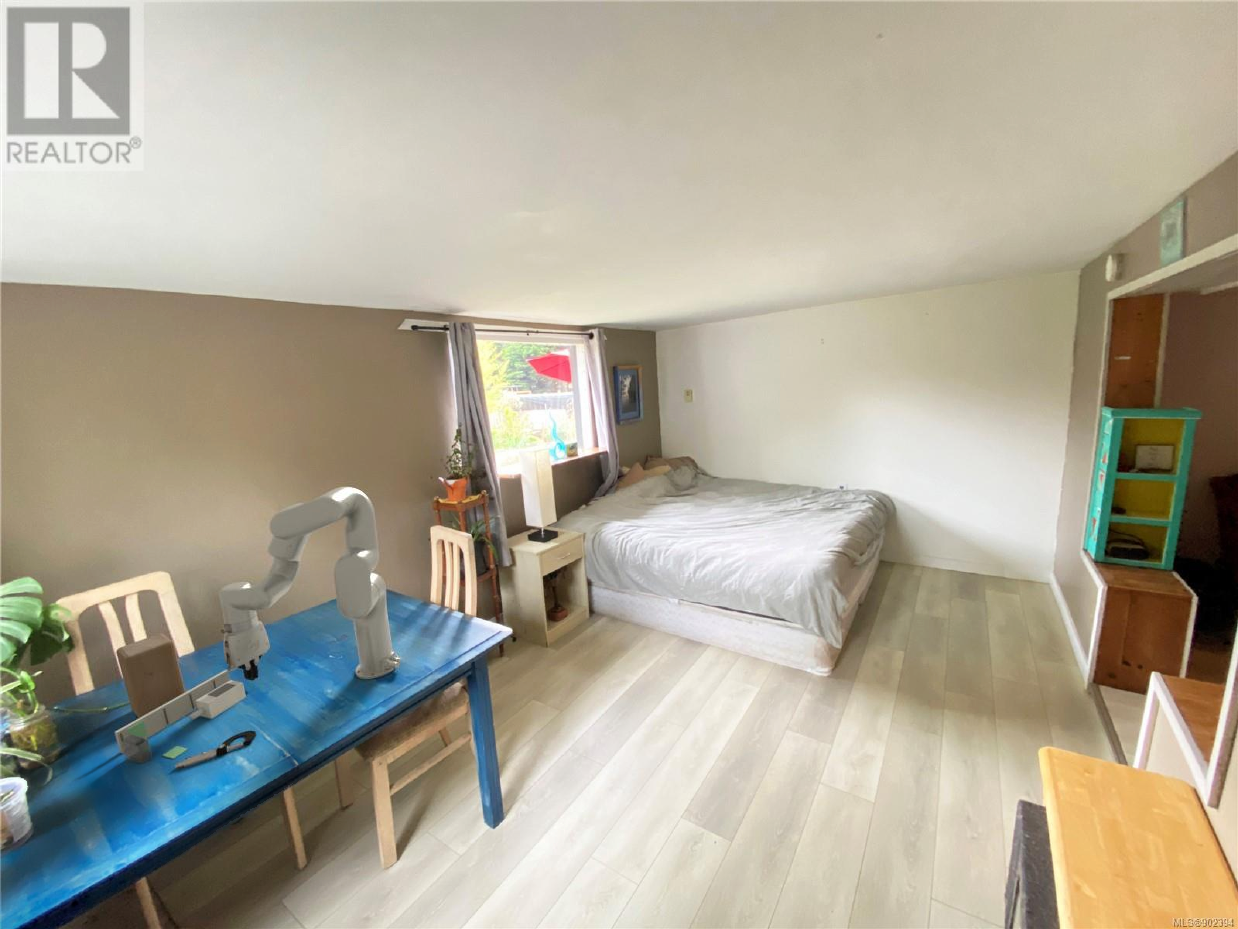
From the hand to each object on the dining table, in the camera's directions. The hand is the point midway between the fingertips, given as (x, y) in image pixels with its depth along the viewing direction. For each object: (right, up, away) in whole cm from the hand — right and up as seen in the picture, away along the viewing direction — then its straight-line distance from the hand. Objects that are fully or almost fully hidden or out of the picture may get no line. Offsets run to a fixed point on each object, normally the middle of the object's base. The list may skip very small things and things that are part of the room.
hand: (252, 678), depth 139 cm
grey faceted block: (-7, -8, -26) cm, 28 cm away
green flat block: (0, -7, -25) cm, 26 cm away
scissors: (+11, -7, -23) cm, 27 cm away
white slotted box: (-2, -5, -9) cm, 11 cm away
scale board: (-10, -5, -12) cm, 17 cm away
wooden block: (-21, -5, -7) cm, 23 cm away
